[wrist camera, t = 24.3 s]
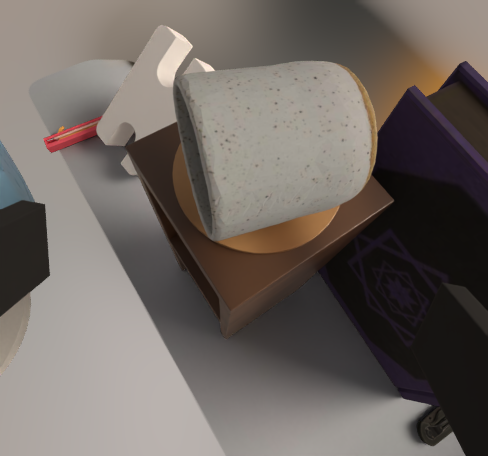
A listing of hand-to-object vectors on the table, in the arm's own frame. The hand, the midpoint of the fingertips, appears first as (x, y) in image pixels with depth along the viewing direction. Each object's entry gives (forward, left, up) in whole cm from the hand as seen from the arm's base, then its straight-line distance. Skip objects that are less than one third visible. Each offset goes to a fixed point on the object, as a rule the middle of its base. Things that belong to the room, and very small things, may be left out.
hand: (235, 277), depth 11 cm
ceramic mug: (+5, +6, -7) cm, 11 cm away
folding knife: (+18, -24, -34) cm, 45 cm away
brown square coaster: (+6, +6, -8) cm, 12 cm away
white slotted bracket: (+7, +30, -25) cm, 40 cm away
